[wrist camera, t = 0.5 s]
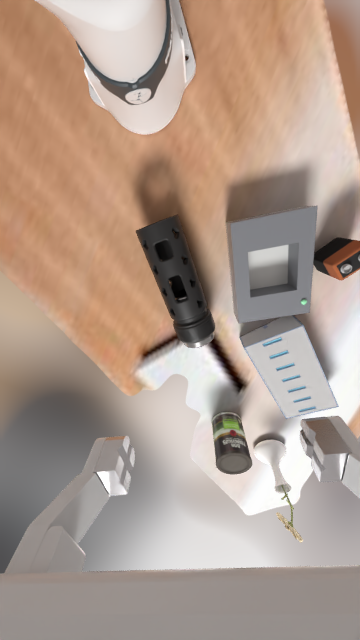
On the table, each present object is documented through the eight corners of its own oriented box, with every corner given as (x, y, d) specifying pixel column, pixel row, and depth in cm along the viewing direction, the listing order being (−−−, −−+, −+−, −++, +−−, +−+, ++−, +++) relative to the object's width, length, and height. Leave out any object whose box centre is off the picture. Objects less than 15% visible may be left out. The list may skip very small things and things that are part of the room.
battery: (345, 251, 49) (380, 260, 40) (317, 271, 51) (344, 283, 42) (337, 236, 48) (372, 241, 39) (308, 256, 50) (335, 266, 41)
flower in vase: (249, 439, 78) (274, 529, 56) (282, 433, 76) (321, 524, 54) (255, 460, 84) (280, 550, 61) (286, 455, 82) (323, 547, 59)
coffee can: (213, 410, 72) (219, 451, 60) (244, 412, 73) (256, 454, 60) (209, 430, 77) (213, 473, 64) (238, 433, 77) (248, 476, 64)
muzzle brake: (180, 213, 47) (178, 213, 38) (215, 322, 58) (220, 343, 49) (140, 229, 49) (128, 233, 39) (181, 332, 60) (180, 354, 51)
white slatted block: (239, 336, 60) (245, 351, 53) (289, 311, 56) (303, 325, 50) (278, 404, 71) (288, 424, 64) (323, 387, 67) (338, 406, 60)
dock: (225, 222, 47) (230, 223, 42) (302, 206, 45) (318, 205, 40) (233, 312, 57) (239, 323, 51) (297, 302, 55) (310, 313, 49)
